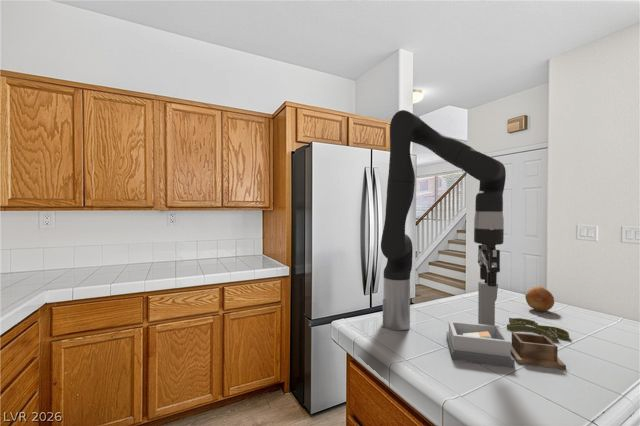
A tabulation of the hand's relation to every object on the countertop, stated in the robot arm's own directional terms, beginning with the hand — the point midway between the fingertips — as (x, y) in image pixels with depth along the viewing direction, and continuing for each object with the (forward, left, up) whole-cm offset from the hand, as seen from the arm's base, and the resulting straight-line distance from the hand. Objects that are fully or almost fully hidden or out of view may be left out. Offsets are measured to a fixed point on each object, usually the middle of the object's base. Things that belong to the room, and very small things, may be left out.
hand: (487, 282), depth 88 cm
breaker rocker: (-3, -1, -16) cm, 16 cm away
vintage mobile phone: (+4, +16, -20) cm, 26 cm away
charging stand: (+12, 0, -20) cm, 23 cm away
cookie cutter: (+20, +22, -21) cm, 36 cm away
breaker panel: (-3, -1, -20) cm, 20 cm away
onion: (+30, +48, -20) cm, 60 cm away
